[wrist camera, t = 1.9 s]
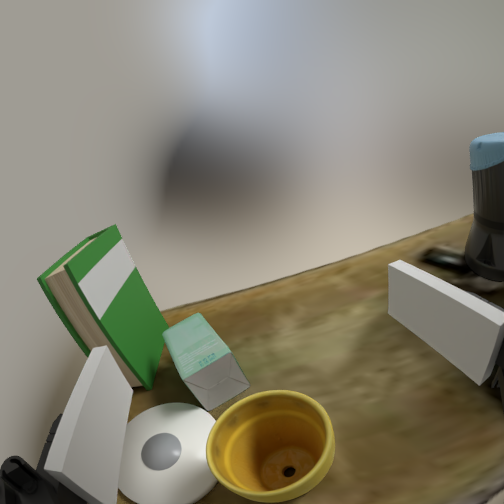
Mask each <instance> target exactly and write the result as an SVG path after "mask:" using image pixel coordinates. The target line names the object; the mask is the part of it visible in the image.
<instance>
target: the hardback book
mask: <svg viewBox="0 0 504 504" xmlns="http://www.w3.org/2000/svg"><path fill="white" fill-rule="evenodd" d="M37 280H38V282H39V284H40V286H41V288H42V289H43V291H44V293H45V295H46V296H47V298H48V300H49V302H50V303H51V305H52V306H53V308H54V309H55V311H56V313H57V315H58V316H59V318H60V319H61V321H62V322H63V324H64V325H65V327H66V328H67V330H68V331H69V333H70V334H71V336H72V337H73V338H74V340H75V341H76V343H77V344H78V345H79V347H80V348H81V349H82V351H83V352H84V353H85V355H86V356H87V357H89V355H90V353H91V351H92V349H93V348H96V347H101V346H106V345H107V347H108V349H109V350H110V352H111V354H112V356H113V358H114V360H115V361H116V363H117V365H118V367H119V368H120V370H121V372H122V373H123V375H124V377H125V378H126V380H127V382H128V383H129V385H130V387H136V386H144V387H145V389H146V390H147V391H148V390H152V387H153V383H154V379H155V375H156V371H157V368H158V364H159V360H160V357H161V353H162V350H163V346H164V343H165V340H164V338H163V336H162V334H163V332H164V331H165V330H167V329H169V326H168V325H167V323H166V321H165V320H164V318H163V316H162V314H161V313H160V311H159V309H158V307H157V306H156V304H155V302H154V300H153V299H152V297H151V295H150V293H149V291H148V289H147V287H146V285H145V284H144V282H143V280H142V278H141V276H140V274H139V272H138V270H137V268H136V266H135V264H134V262H133V260H132V258H131V256H130V254H129V252H128V250H127V248H126V246H125V244H124V241H123V240H122V237H121V235H120V233H119V231H118V229H117V226H116V224H115V225H113V226H110V227H108V228H106V229H104V230H102V231H100V232H97V233H95V234H93V235H91V236H89V237H87V238H86V239H85V240H83V241H82V242H80V243H79V244H78V245H77V246H75V247H74V248H73V249H72V250H70V251H69V252H68V253H67V254H65V255H64V256H63V257H62V258H60V259H59V260H58V261H57V262H56V263H54V264H53V265H52V266H51V267H50V268H49V269H48V270H46V271H45V272H44V273H43V274H42V275H40V276H39V277H38V278H37Z"/></svg>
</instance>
